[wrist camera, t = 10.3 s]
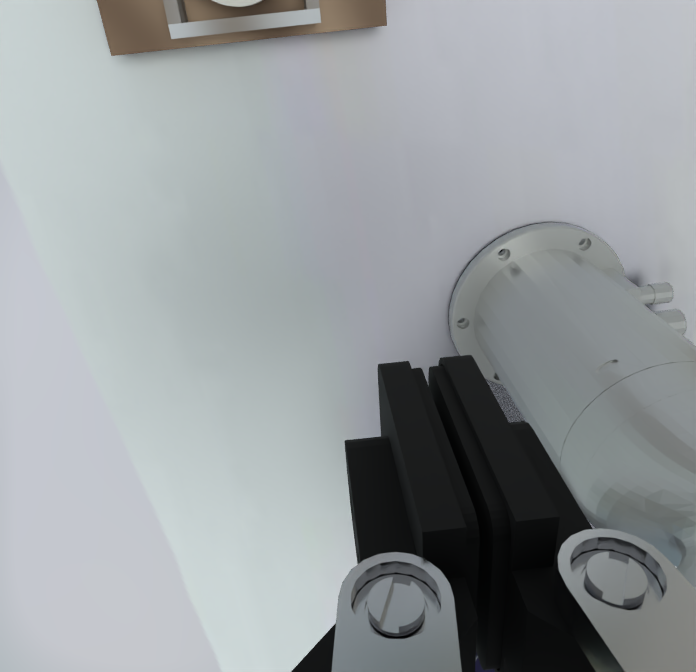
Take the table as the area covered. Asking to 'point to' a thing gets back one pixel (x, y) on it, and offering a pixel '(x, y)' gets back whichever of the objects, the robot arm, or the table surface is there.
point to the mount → (227, 21)
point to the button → (238, 2)
